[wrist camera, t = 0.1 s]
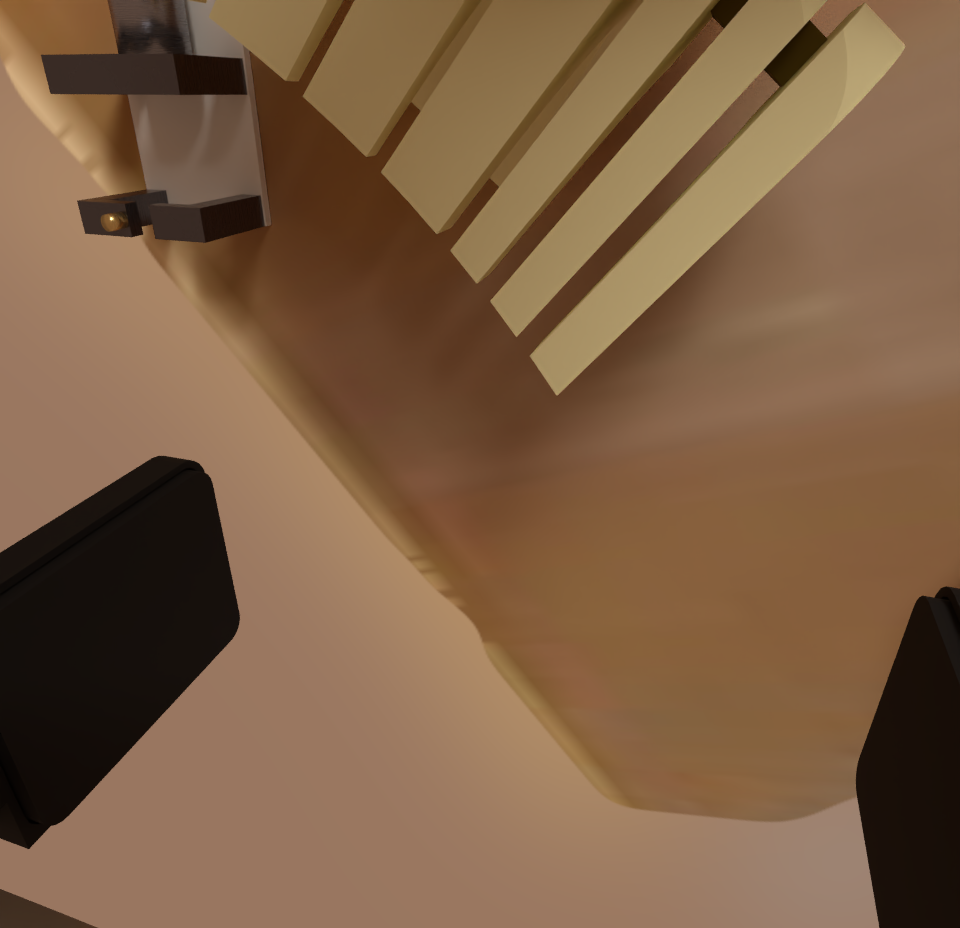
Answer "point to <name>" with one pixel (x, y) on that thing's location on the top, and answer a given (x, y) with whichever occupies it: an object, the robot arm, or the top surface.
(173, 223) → the dark angular blocks
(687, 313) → the top surface
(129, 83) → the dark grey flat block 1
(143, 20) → the tube
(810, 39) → the slatted curved stool
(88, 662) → the robot arm
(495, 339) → the top surface
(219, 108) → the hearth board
